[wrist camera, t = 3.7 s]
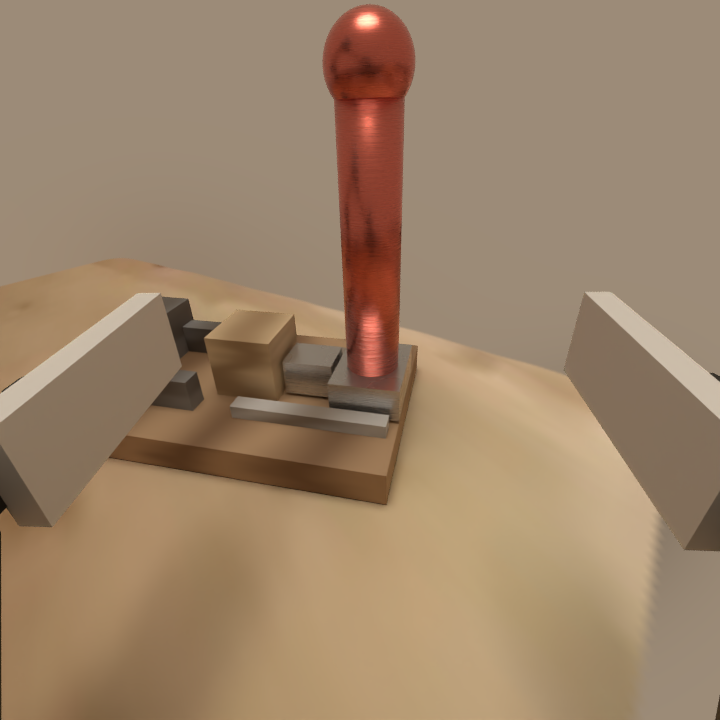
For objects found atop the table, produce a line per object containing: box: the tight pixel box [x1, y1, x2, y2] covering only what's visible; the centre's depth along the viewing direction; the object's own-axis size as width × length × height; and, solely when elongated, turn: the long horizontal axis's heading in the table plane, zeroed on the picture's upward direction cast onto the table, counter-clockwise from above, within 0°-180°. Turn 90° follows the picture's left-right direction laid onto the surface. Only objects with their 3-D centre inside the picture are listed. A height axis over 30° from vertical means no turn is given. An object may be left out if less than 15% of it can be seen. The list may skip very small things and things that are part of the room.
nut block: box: [204, 310, 297, 401], centre depth 26 cm, size 4×4×4 cm
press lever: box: [282, 4, 415, 421], centre depth 21 cm, size 7×5×18 cm
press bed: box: [109, 297, 418, 504], centre depth 27 cm, size 20×13×6 cm, turn 77°
